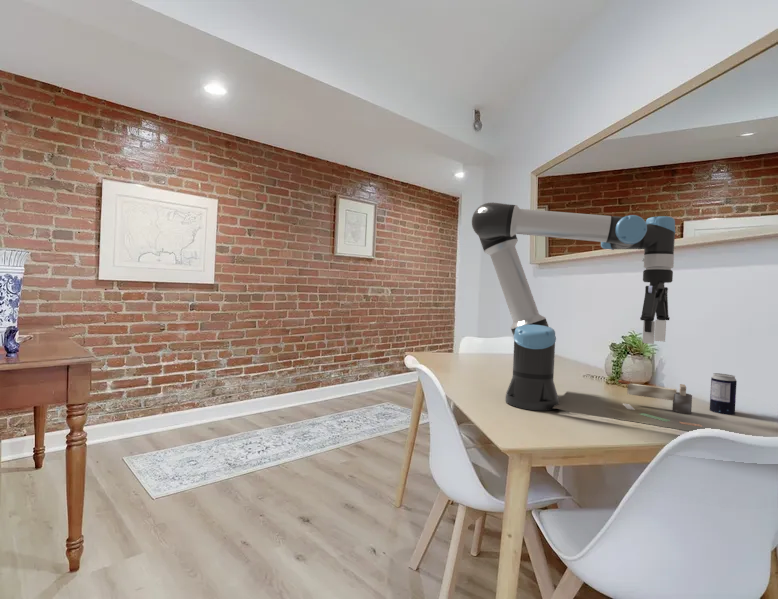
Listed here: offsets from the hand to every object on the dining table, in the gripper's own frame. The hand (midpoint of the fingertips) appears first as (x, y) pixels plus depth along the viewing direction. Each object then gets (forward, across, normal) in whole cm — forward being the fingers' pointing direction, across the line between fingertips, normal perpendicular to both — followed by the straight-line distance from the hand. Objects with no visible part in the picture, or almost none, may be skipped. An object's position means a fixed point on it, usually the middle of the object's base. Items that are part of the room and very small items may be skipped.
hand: (654, 342), depth 127 cm
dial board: (+20, +10, +4) cm, 23 cm away
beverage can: (+20, -7, +16) cm, 27 cm away
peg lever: (+19, +5, +2) cm, 19 cm away
